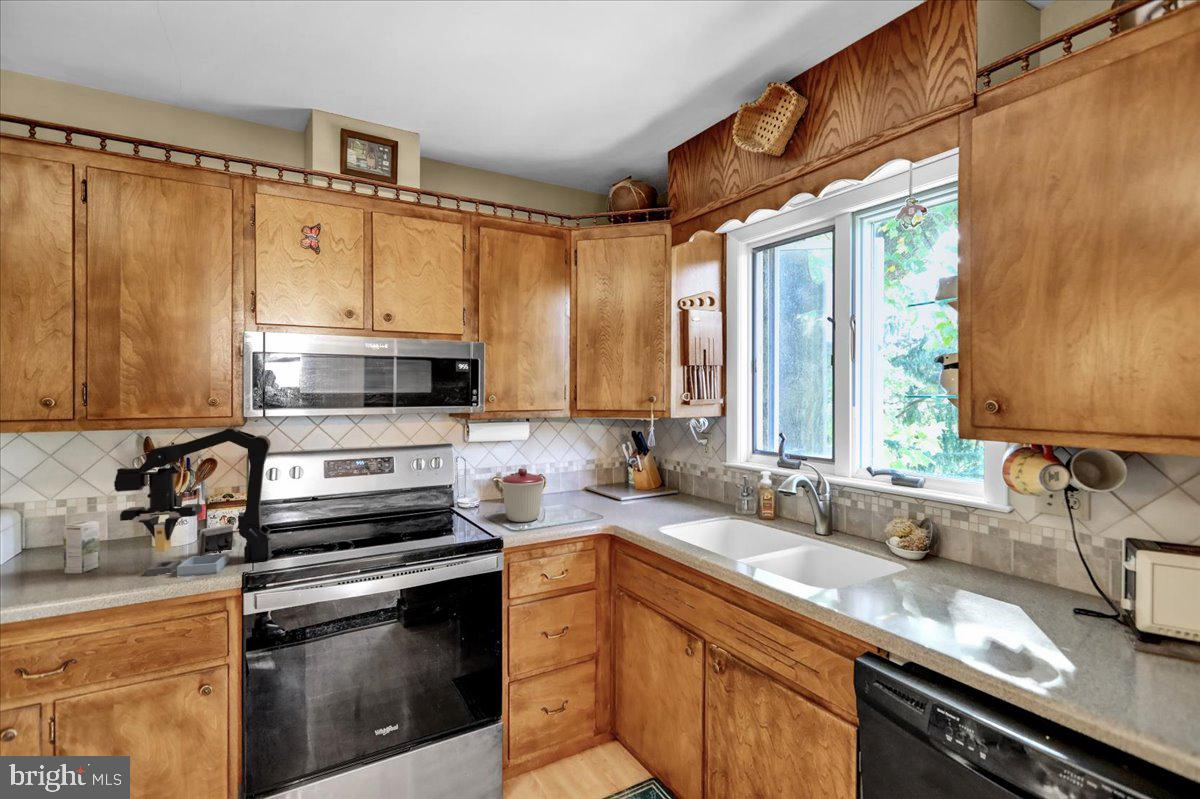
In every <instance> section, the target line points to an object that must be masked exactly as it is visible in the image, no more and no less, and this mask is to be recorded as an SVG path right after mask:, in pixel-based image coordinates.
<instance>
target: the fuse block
mask: <svg viewBox="0 0 1200 799" xmlns="http://www.w3.org/2000/svg"><path fill="white" fill-rule="evenodd" d="M180 564H182V560H181V559H177V560H165V561H156V562H155V563H153V564H152V565H151V566H149V567H148V568H146V569H145V571H146V572H145V574H146V577H151V576H150V575H154V576H159V575H158V574H166V573H171V572H173V571H174V570H176V569H177V566H179V565H180ZM176 571H177V570H176ZM174 572H175V571H174ZM174 572H173V573H174ZM171 574H172V573H171ZM166 575H167V574H166Z"/></svg>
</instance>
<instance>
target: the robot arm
mask: <svg viewBox="0 0 1200 799" xmlns="http://www.w3.org/2000/svg"><path fill="white" fill-rule="evenodd" d="M227 442H229V443H232V444H235V445H237V446H239V447H242V448H243V449H246V450H247V456H248V463H249V473H248V482H247V492H246V494H247V495H246V503H245V509H244V511H241V512H240V513H239V514H238V516H237V523H238V525H237V527H236V530H238V533H239V536H240V537H241V538H243V539H245V546H244V547H243V554H244V556H243V558H244V563H245V564H249V563H250V564H251V563H259V562H260V563H261V562H267V561H269V560H270V559H271V558H272V557H273V556H274V554H273V553H272V538H271V537H269V535H270V532H271V529H270V528H268V527H267V526H265V525H264V524H263V517H262V510H261V499H262V491H263V490H262V489H263V480H264V470H265V463H266V461H267V458H268V456H269V455H268V454H269V453H270V449H271V444H272V443H271V440H270V438H268V436H265V435H254V434H251V433H248V432H246V431H243V430H242V431H241V430H240V429H237V428H235V427H228V428H226V429H224V430H222V431H218V432H216V433H212V434H209V435H205V436H202V437H199V438H196V439H193V440H189V441H187V442H182V443H181V442H180V443H175V444H167V445H162V446H158V447H155V448H153V449H150V450H149V451H148V452H147V453H146V457H145V461H144V462H143V463H142V464H141V465H140V467H133V468H132V467H129V468H128V467H120V468H117V469H116V475H115V479H114V482H113V485H114V489H115V490H114V491H116V492H117V493H120V492H135V491H143V489H144V487H147V486H148V490H149V491H148V492H149V493H148V494H147V497H146V498H147V499H148V498H149V507H148V508H147V509H146V507H145V506H133V507H131V506H130V507H128V508H126V509H124V510H122V511H121V512H120V513H119V521H121V522H123V521H133V520H135V518H137V517H139V518H140V519H139V520H138V523H142V524H143V525H144V526H145V527H146V528H147V530H148V531H149V533H150V534H151V536H152V537H153V540H155V528H154V525H156V524H158V523H159V520H160V516H169V517H168V518H166V519H165V520H164V522H165V527H166V539H167V540H170V538H171V537H172V535H173V532H174V529H175V528H176V525H177V523H178V522H179V520H180V519H182V518H187V517H196V516H198V515H200V514H201V513H203V506H202V505H201V503H188V504H185V505H183V499H184V496H182V495H179V494H177V490H176V489H175V488H174V487H175V486H174V485H175V483H174V474H180V473H181V472H182V471H183V470H182V469H181V468H180V467H178V466H177V465H176V464H173V465H172V466H170V467H165V466H167V465H169V464H171V463H174V462H175V461H177V460H179V459H181V458H183V457H185V456H187V455H188V456H189V455H190V454H193V453H197V452H199V451H202V450H205V449H206V450H207V449H208V448H209V449H210V448H211V447H214V446H218V445H221V444H225V443H227ZM155 468H157V471H152V470H154V469H155ZM171 539H172V538H171Z"/></svg>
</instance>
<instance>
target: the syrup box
mask: <svg viewBox="0 0 1200 799" xmlns="http://www.w3.org/2000/svg"><path fill="white" fill-rule="evenodd" d="M62 528H63V529H62V536H63V538H62V539H63V547H62V548H63V573H64V574H84V573H87V572H90V571H92V570H96V569H98V568H100V560H101V559H100V521H97V520H82V521H81V520H80V521H77V522H74V523H73V522H72V523H70V524H66V525H63V527H62ZM95 568H96V569H95Z"/></svg>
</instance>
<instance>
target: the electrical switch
mask: <svg viewBox="0 0 1200 799" xmlns="http://www.w3.org/2000/svg"><path fill="white" fill-rule="evenodd" d="M233 537H234V525H233V524H231V523H229V524H224V525H218V526H213V527H207V528H202V529H200V530H199V535H198V547H197V548H198V550H197V551H198V552H197V554H198V556H200V555H201V554H202V555H201V556H203V555H206V554H210V553H215V551H218V552H220V551H223V550H232V551H233V539H234V538H233Z"/></svg>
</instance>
